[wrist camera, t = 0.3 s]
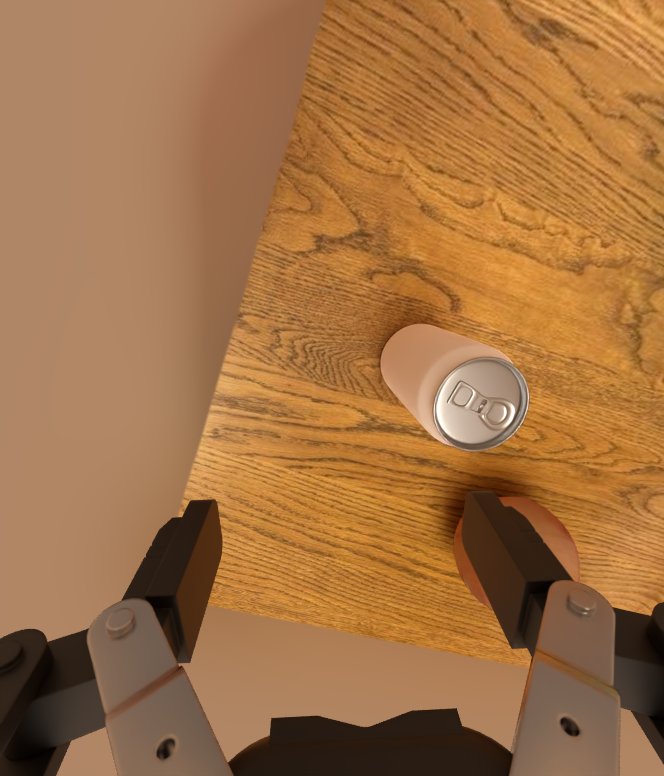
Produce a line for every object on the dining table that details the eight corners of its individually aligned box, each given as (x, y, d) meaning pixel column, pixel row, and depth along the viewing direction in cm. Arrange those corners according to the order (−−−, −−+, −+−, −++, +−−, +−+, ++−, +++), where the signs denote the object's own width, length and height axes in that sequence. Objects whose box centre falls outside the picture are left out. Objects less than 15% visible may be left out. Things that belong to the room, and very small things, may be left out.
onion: (474, 458, 37) (539, 524, 27) (552, 501, 39) (638, 575, 29) (417, 538, 38) (459, 626, 29) (495, 574, 41) (558, 667, 31)
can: (428, 408, 35) (496, 475, 23) (365, 378, 33) (404, 432, 22) (467, 343, 33) (559, 380, 22) (402, 309, 32) (465, 328, 20)
